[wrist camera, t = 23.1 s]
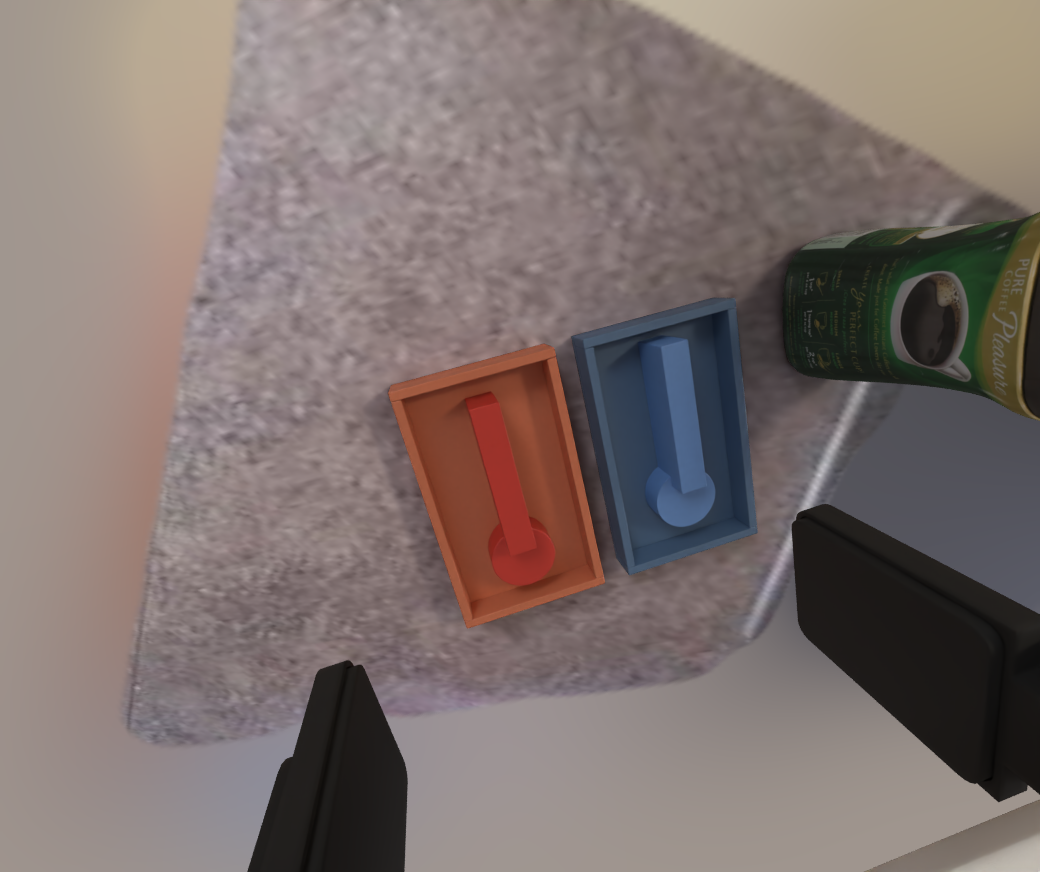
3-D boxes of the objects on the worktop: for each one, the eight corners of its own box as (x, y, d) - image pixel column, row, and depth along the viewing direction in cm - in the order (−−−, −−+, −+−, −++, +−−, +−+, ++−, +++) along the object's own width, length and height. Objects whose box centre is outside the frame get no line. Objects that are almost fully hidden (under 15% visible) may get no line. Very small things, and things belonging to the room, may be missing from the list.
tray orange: (390, 385, 31) (387, 392, 28) (544, 343, 32) (554, 347, 29) (464, 607, 36) (467, 629, 34) (594, 565, 37) (605, 583, 35)
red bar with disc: (444, 403, 31) (446, 416, 28) (510, 385, 32) (520, 395, 28) (496, 578, 35) (503, 606, 32) (554, 559, 36) (567, 586, 33)
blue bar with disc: (618, 346, 32) (640, 352, 29) (680, 329, 33) (708, 333, 29) (649, 522, 36) (671, 544, 33) (703, 505, 37) (730, 525, 34)
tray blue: (570, 336, 32) (582, 339, 30) (713, 297, 33) (735, 297, 31) (616, 557, 37) (629, 575, 35) (737, 518, 38) (758, 533, 36)
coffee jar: (871, 361, 37) (1281, 422, 19) (776, 382, 36) (1115, 468, 18) (878, 223, 34) (1368, 145, 16) (774, 242, 33) (1177, 182, 15)
